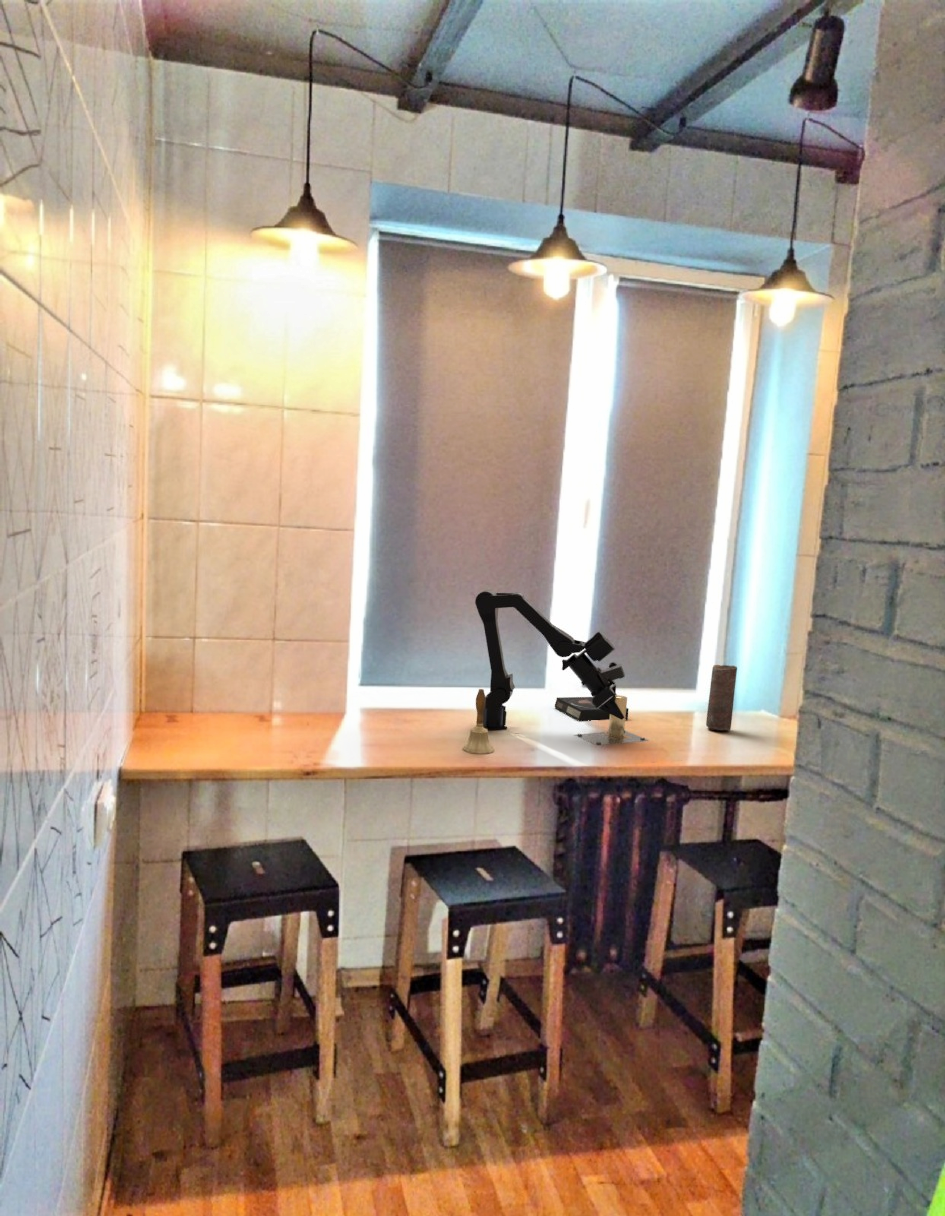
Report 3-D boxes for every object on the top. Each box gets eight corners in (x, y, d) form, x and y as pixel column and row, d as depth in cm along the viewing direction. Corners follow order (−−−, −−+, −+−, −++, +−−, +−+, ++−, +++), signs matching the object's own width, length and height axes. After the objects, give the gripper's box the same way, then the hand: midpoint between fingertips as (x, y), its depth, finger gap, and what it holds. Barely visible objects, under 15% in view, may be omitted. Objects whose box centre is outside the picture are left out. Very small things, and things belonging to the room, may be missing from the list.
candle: (729, 735, 276) (736, 668, 273) (704, 731, 278) (711, 665, 276) (731, 729, 283) (737, 665, 281) (706, 726, 285) (713, 662, 283)
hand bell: (467, 754, 236) (471, 693, 234) (458, 745, 244) (462, 686, 242) (498, 754, 238) (502, 693, 236) (488, 745, 246) (492, 686, 244)
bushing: (616, 743, 257) (620, 699, 255) (604, 739, 260) (608, 696, 258) (626, 741, 260) (630, 697, 258) (614, 737, 263) (618, 694, 261)
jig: (597, 750, 248) (598, 743, 247) (572, 740, 257) (573, 733, 257) (648, 745, 257) (649, 738, 257) (623, 735, 266) (623, 729, 266)
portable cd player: (554, 709, 295) (555, 697, 295) (601, 708, 301) (602, 696, 301) (578, 722, 280) (579, 709, 280) (627, 721, 286) (628, 708, 286)
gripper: (608, 659, 248) (646, 704, 248) (610, 649, 267) (645, 690, 266) (576, 685, 251) (614, 729, 250) (580, 673, 269) (615, 714, 268)
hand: (623, 714), depth 259 cm, fingers open, 9 cm apart
